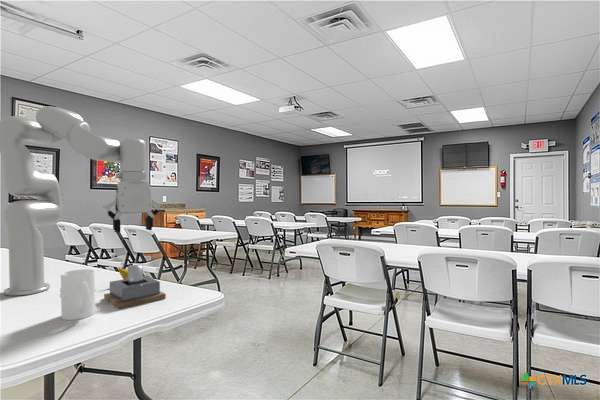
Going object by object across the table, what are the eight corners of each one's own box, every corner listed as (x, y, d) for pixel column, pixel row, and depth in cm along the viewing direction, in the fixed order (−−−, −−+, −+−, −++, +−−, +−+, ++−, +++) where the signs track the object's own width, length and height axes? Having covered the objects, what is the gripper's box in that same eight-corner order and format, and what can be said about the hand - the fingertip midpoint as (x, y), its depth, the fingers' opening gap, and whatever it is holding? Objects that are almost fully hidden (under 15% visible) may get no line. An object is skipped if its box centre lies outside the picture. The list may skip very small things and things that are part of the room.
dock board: (104, 298, 112) (104, 294, 112) (148, 289, 122) (148, 285, 122) (119, 309, 102) (119, 303, 102) (165, 298, 112) (165, 293, 112)
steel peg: (125, 293, 112) (126, 265, 112) (140, 291, 115) (140, 264, 115) (130, 296, 109) (130, 267, 109) (144, 293, 112) (144, 266, 112)
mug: (69, 326, 89) (68, 280, 88) (57, 315, 97) (56, 272, 96) (104, 317, 95) (103, 274, 94) (90, 308, 103) (89, 268, 102)
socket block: (109, 294, 112) (109, 281, 111) (145, 287, 120) (145, 275, 120) (122, 301, 104) (122, 288, 103) (159, 293, 112) (159, 281, 112)
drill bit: (140, 285, 130) (120, 270, 124) (129, 290, 131) (109, 276, 125) (144, 274, 134) (124, 259, 128) (133, 279, 135) (113, 264, 129)
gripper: (107, 176, 102) (107, 234, 102) (164, 178, 114) (165, 229, 115) (99, 177, 107) (100, 232, 108) (155, 178, 119) (155, 228, 120)
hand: (133, 230), depth 111 cm, fingers open, 9 cm apart
